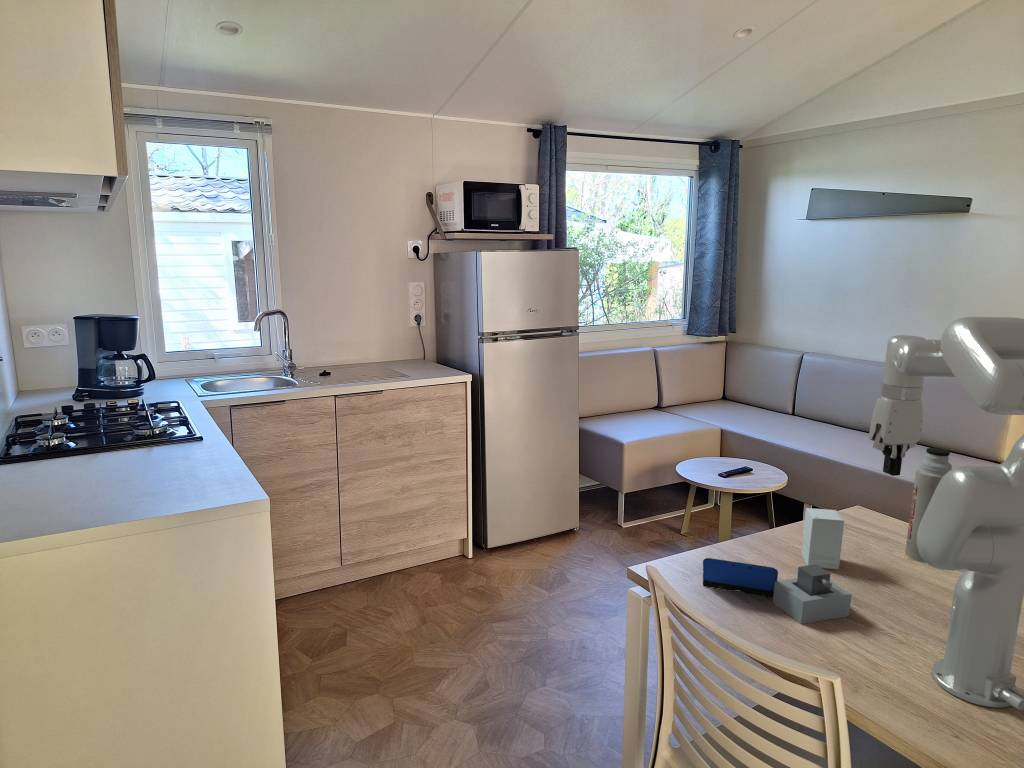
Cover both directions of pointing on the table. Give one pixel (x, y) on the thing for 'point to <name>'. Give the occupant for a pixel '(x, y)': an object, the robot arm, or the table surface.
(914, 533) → the thermos bottle
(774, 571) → the handheld game console
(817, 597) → the socket
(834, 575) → the table surface
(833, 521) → the supplement box
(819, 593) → the plug
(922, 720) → the table surface
